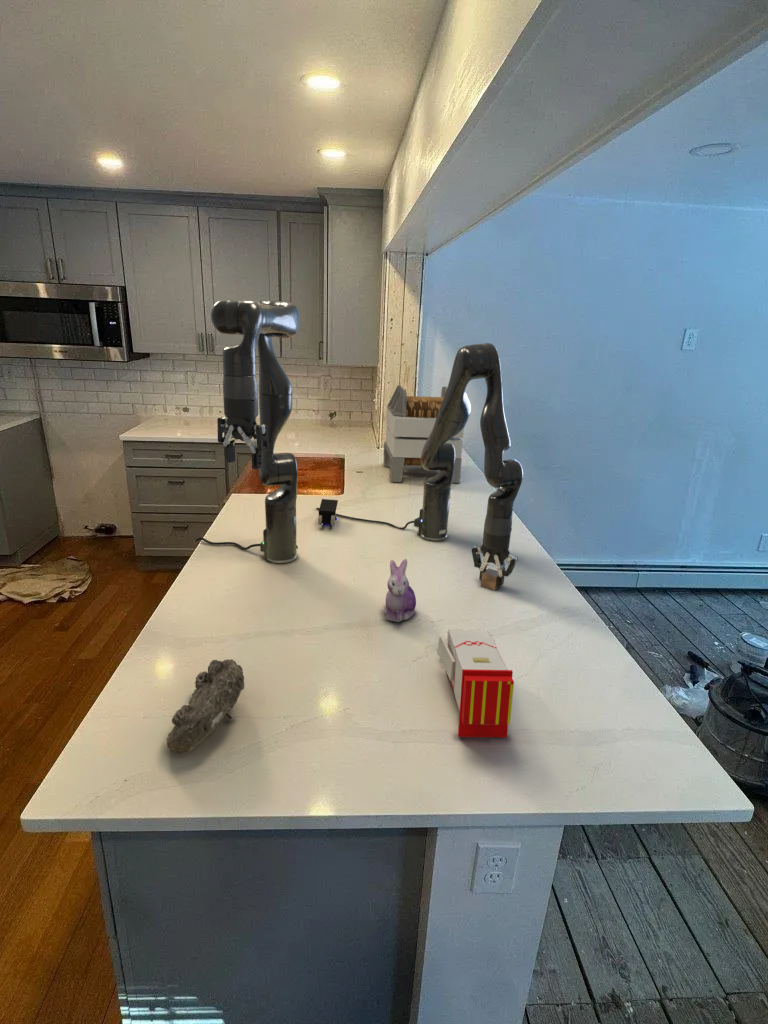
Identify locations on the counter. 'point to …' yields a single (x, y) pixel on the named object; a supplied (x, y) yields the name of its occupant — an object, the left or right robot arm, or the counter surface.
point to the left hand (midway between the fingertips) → (243, 465)
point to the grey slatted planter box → (413, 432)
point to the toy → (478, 682)
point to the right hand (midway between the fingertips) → (491, 584)
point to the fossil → (206, 705)
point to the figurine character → (327, 513)
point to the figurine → (399, 594)
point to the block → (489, 579)
